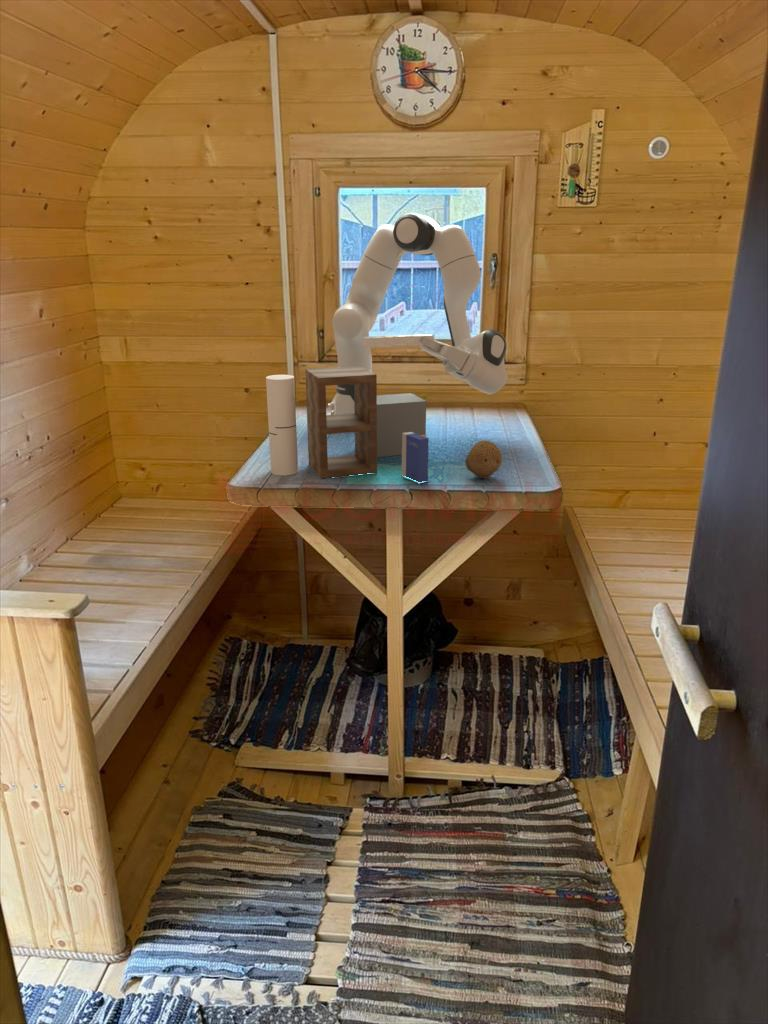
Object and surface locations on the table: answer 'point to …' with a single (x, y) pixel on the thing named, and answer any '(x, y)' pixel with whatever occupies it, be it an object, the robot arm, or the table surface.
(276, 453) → the cylindrical container
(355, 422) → the walnut shelf
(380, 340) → the tan bar
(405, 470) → the walkman
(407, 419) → the block
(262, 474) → the table surface
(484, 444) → the natural sponge
